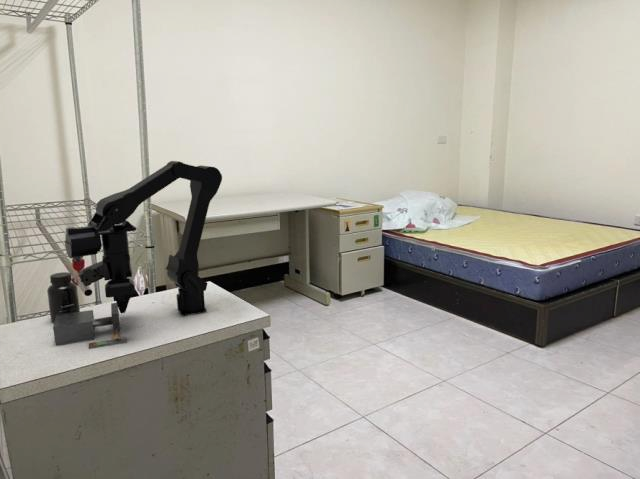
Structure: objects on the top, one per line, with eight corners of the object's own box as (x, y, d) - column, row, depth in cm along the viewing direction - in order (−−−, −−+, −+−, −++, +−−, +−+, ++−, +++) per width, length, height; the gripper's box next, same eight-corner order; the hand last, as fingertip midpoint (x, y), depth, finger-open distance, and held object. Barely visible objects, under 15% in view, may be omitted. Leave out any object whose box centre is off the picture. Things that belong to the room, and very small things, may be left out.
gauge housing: (125, 322, 122) (123, 305, 121) (127, 342, 111) (125, 324, 110) (58, 332, 116) (56, 315, 115) (53, 354, 105) (50, 335, 104)
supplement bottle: (68, 324, 121) (62, 279, 118) (45, 323, 122) (38, 278, 119) (86, 314, 127) (81, 271, 125) (64, 313, 129) (58, 270, 126)
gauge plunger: (119, 321, 122) (117, 302, 120) (120, 340, 110) (118, 320, 109) (66, 329, 117) (63, 310, 116) (62, 350, 106) (59, 329, 104)
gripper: (80, 245, 119) (87, 305, 123) (76, 264, 103) (84, 332, 106) (128, 241, 124) (134, 298, 127) (132, 258, 107) (138, 324, 110)
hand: (122, 312), depth 117 cm, fingers closed, pressing on gauge plunger
